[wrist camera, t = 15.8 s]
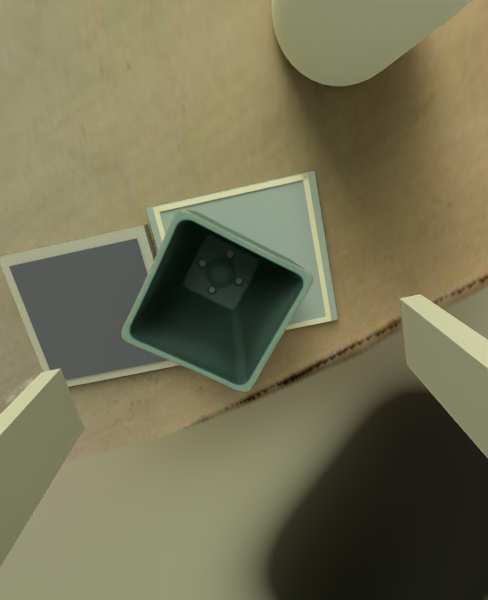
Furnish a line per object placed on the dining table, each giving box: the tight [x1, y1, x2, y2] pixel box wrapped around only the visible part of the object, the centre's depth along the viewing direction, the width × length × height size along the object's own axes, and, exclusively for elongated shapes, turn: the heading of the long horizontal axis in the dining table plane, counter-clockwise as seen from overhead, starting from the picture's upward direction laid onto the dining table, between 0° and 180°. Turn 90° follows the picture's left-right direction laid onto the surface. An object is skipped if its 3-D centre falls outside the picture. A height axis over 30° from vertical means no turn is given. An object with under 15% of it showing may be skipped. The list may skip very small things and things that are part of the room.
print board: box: [146, 171, 338, 330], centre depth 33 cm, size 13×12×1 cm
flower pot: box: [121, 209, 313, 392], centre depth 28 cm, size 9×9×9 cm
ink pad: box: [0, 224, 179, 387], centre depth 34 cm, size 12×12×1 cm
